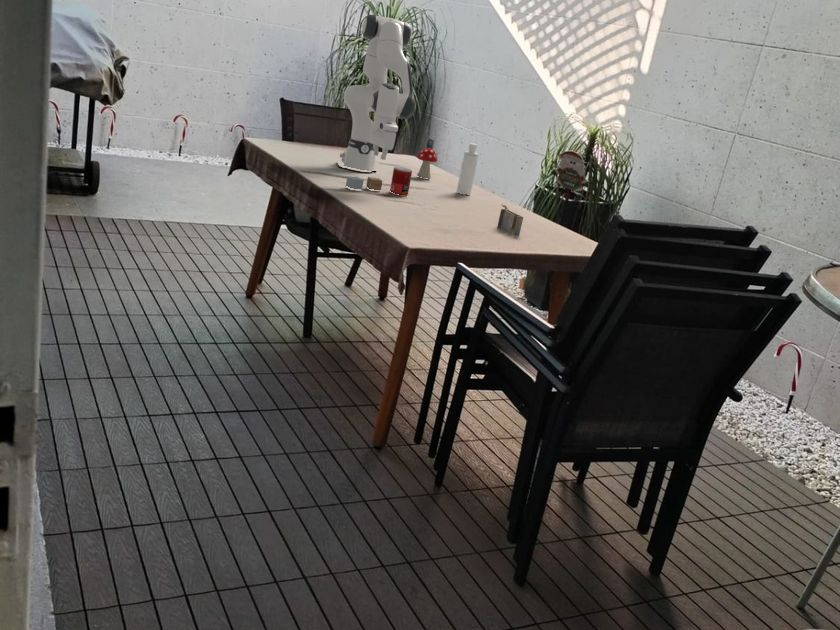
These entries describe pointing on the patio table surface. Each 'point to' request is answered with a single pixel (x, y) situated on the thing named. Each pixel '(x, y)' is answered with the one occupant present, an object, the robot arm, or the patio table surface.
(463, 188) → the white bottle
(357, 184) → the grey block
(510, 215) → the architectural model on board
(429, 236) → the patio table surface
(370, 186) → the walnut block
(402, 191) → the canned food
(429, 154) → the decorative mushroom
